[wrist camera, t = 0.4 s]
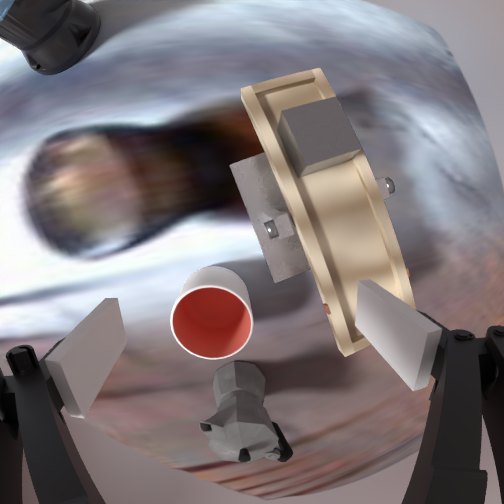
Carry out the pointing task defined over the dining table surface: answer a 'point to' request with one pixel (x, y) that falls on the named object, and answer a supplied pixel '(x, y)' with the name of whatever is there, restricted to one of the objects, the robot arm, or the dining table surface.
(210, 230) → the dining table surface
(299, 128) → the block
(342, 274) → the beam
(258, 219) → the stand
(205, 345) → the cup
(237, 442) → the coffeepot
